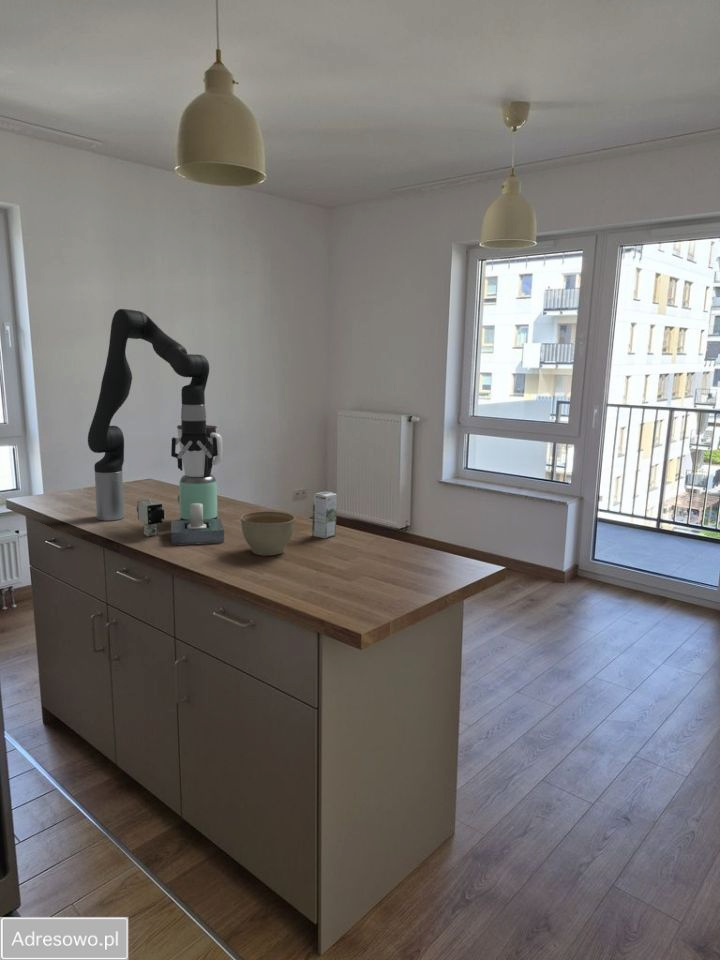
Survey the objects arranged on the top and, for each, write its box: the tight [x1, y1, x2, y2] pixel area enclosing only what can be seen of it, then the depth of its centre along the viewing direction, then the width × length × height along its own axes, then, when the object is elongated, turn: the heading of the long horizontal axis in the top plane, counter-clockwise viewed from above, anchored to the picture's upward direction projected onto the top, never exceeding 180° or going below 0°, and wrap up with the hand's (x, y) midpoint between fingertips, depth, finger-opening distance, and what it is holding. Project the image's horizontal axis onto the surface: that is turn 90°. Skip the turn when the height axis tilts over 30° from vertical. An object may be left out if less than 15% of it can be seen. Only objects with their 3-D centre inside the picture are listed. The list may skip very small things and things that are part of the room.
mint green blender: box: [176, 424, 224, 520], centre depth 226 cm, size 19×13×35 cm
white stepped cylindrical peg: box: [187, 503, 206, 529], centre depth 208 cm, size 6×6×11 cm
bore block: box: [170, 518, 225, 546], centre depth 208 cm, size 16×16×4 cm
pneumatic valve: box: [136, 498, 165, 538], centre depth 209 cm, size 6×12×12 cm, turn 40°
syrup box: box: [311, 491, 338, 539], centre depth 213 cm, size 6×6×14 cm
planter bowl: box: [240, 510, 296, 557], centre depth 194 cm, size 16×16×11 cm
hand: (195, 469), depth 205 cm, fingers open, 8 cm apart
